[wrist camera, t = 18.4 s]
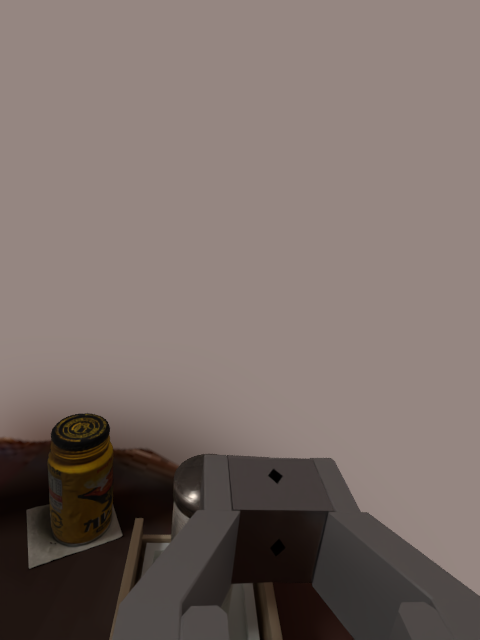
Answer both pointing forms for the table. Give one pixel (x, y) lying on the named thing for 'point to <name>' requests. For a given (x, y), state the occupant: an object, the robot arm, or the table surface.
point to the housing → (135, 558)
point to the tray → (241, 605)
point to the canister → (190, 501)
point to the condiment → (75, 492)
